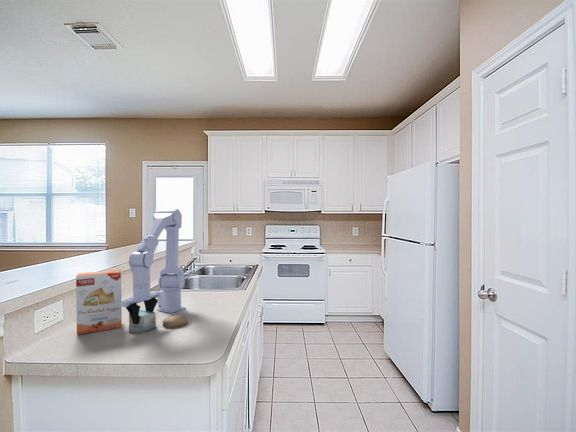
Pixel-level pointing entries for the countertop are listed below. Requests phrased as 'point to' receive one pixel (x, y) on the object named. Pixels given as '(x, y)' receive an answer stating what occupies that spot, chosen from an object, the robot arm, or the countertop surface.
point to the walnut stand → (175, 321)
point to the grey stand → (141, 330)
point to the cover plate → (143, 313)
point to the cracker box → (98, 301)
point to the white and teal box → (144, 319)
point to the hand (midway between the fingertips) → (142, 321)
